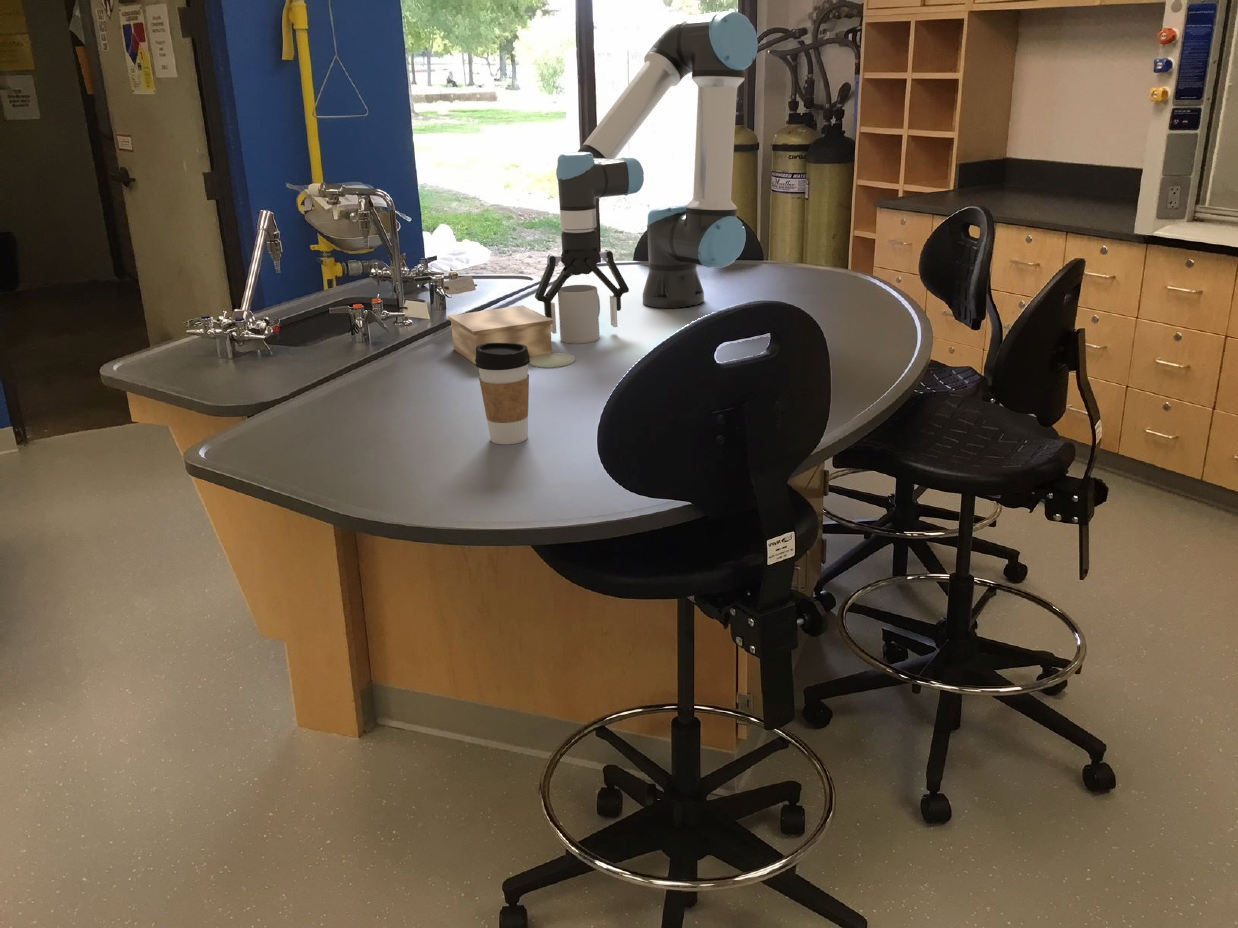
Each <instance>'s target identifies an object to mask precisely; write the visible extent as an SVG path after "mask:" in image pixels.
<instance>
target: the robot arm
mask: <svg viewBox="0 0 1238 928" xmlns="http://www.w3.org/2000/svg"><path fill="white" fill-rule="evenodd" d="M758 42H759V41H758V35H757V31H756V29H755V26H754V25H753V23H751V22H750V19H749V18H748V17H747V16H746V15H744V14H742V13H741V12H738V11H727V10H723V11H716V12H710V13H702V14H690V15H686V16H684V17H682V18H681V19H679V20H678V21H676V22H675V23H673V24H672V25H671V26H670V27H669V28H668V29H666V31H665V32H664V33H663V34H661V36H660V37H659V38H658V39H657V40H656V42H655V43H654V44H653V45H652V46H651V47H650V49H649V51H647V53H646V54H645V56H644V58H643V61H644V64H643V66H642V67H641V68H640V70H639V71H638V72H637V73H636V75H635V76H634V78H633V79H632V80H631V81H630V82H629V84H628V85H627V87H626V88H625V89H624V90H623V92H621V94H620V95H619V97H617V100H616V101H615V102H614V103H613V105H612V106H611V108H610V109H609V110H608V111H607V112H606V114H605V115H604V117H603V118H602V119H600V121H599V123H598V124H597V125H596V127H595V129H594V130H593V131H592V132H591V133H590V135H589V136H588V137H587V139H586V140H585V141H584V143H583V144H582V145H581V146H580V148H579V149H578V150H577V151H576V152H563V153H562V154H560V155H559V156H558V157H557V165H556V172H555V175H556V176H555V177H556V179H557V187H558V200H559V201H558V202H559V216H560V219H559V220H560V228H561V230H563V231H562V232H561V233H560V235H561V237H560V238H561V255H553V254H551V253H550V254H548V256H547V259H546V260H547V261H546V262H547V263H546V267H545V270H544V272H543V274H542V277H541V280H540V282H539V284H538V287H537V289H536V291H535V294H534V298H535V300H537V301H538V302H542V303H543V309H544V310H543V311H544V316H546V317H548V318H550V319H552V320H553V324H550V327H551V334H557V321H556V320H557V319H556V304H555V302H554V301H553V299H554V298H555V297H556V295H558V291H559V290H560V288H561V287H564V286H563V285H564V284H565V283H566V282H567V280H568V279H569V278H570V277H571V276H572V275H573V276H581V275H590V274H591V273H593V274H594V275H595V276H596V277H597V278H598V279H599V280H600V281H601V282H602V283H603V284H604V285H605V286H606V288H607V289H609V291H610V292H611V293H612V294H609V310H610V311H609V312H610V326H612V327H613V328H618V312H620V311H621V309H622V298H621V297H622V296H623V295H624V294H627V293H629V292H630V289H629V287H628V285H627V283H626V281H625V279H624V277H623V275H622V273H621V272H620V270H619V268H618V267H617V264H616V262H615V260H614V254H613V251H611V250H609V249H604V251H599V249H598V247H599V246H598V231H597V230H596V229H595V228H597V225H598V224H597V211H596V209H597V208H596V207H597V204H596V199H601V198H607V197H609V198H610V197H620V196H628V195H632V194H636V193H638V192H640V191H641V189H642V187H643V185H644V180H645V178H644V175H645V173H644V168H643V166H642V164H641V162H640V161H639V160H638V159H637V158H634V157H621V158H617V156H618V155H620V153H621V152H622V151H623V149H624V147H626V145H627V144H628V142H629V141H630V140H631V139H632V137H633V136H634V135H635V133H636V132H637V131H638V129H639V128H640V127H641V125H642V124H643V123H644V122H645V121H646V119H647V117H649V115H650V114H651V113H652V112H653V110H654V109H655V107H656V106H657V105H658V103H659V102H660V100H661V99H662V98H663V97H664V95H665V94H666V93H667V92H668V90H669V89H670V88H671V87H675V86H678V85H679V83H680V82H681V81H682V80H683V78H685V77H686V76H687V75H689V74H691V80H692V81H693V82H694V83H695V85H697V106H696V107H697V108H696V128H695V129H696V130H695V132H696V133H695V150H694V151H695V154H694V173H693V174H694V175H693V192H692V194H693V195H692V196H693V198H692V199H691V200H690V202H689V203H687V204H686V205H685V204H684V205H676V206H675V205H674V206H668V207H659V208H653V209H651V210H650V211H649V212H648V214H647V225H646V229H647V250H648V251H647V253H648V254H647V255H648V275H647V278H646V280H645V284H644V288H643V292H642V304H643V305H645V306H648V307H651V308H657V309H659V308H660V309H679V307H682V308H687V307H686V306H690V307H692V306H691V305H695V306H698V304H699V305H700V303H701V302H703V301H704V302H705V291H704V287H703V286H702V283H701V279H700V277H699V273H698V270H697V265H700V266H703V267H706V268H719V269H720V268H725V267H729V266H730V265H732V264H733V263H734V262H736V260H737V259H738V258H739V257H740V256H741V254H742V252H743V250H744V248H745V244H746V241H747V240H746V237H747V234H746V228H745V226H744V225H743V222H742V221H741V220H740V219H739V218H738V216H737V215H738V214H737V212H738V210H737V209H738V207H737V206H736V205H735V203H734V202H733V201H732V185H733V168H734V166H733V165H734V151H735V148H734V147H735V131H736V115H737V114H736V113H737V99H738V98H737V97H738V96H737V95H738V88H739V86H740V85H741V84H742V83H743V82H744V81H745V78H746V69H748V67H750V66H751V65H752V64H753V61H754V60H755V59H756V57H757V52H758V48H759V43H758ZM601 259H602V261H603V262H605V263H606V264H607V267H608V269H609V270H610V273H611V274H612V276H613V278H614V279H615V282H616V283H617V285H618V288H617V286H616V285H615V284H614V283H613V282H612V281H611V280H610V279H609V278H608V277H607V276H606V275H605V273H603V271H602V270H601V269H600V268H599V267H598V266H597V265H598V263H599V262H600V260H601ZM560 262H561V264H563V266H564V267H563V268H562V270H561V271H560V273H559V275H558V276H557V278H556V279H555V281H554V282H553V283H552V285H551V286H550V287H549V289H548V286H549V285H550V282H551V279H552V276H553V275H554V272H555V268H556V267H557V266H558V265H559V263H560ZM704 302H703V303H704ZM701 304H702V303H701Z"/></svg>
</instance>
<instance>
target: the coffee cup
mask: <svg viewBox="0 0 1238 928" xmlns="http://www.w3.org/2000/svg"><path fill="white" fill-rule="evenodd" d="M530 359H531V358H530V355H529V353H528V349H527V346H525V345H523V344H517V343H484V344H481V345H478V346H477V347H476V359H475V362H476V364H475V366H476V368H478V372H479V378H478V382H479V386H480V390H481V395H482V400H483V407H484V410H485V411H484V412H485V416H486V420H487V427H488V431H489V432H488V433H489V438H490V441H491V442H492V443H493V444H497V445H505V446H506V445H515V444H516V445H517V444H520V443H522V442H525V441H526V440H527V439H528V437H529V399H530V398H529V395H530V394H529V393H530V391H529V390H530V375H529V371H528V370H529V365H530Z"/></svg>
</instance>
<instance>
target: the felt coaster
mask: <svg viewBox="0 0 1238 928" xmlns="http://www.w3.org/2000/svg"><path fill="white" fill-rule="evenodd" d="M573 363H575V356H574V355H572V354H568V353H561V352H560V353H559V352H552V353H550V354H542V355H538V356H535V357H532V358H530V363H529V365H531V366H533V367H534V368H535V367H537V368H541V369H542V368H543V369H544V368H545V369H548V368H549V369H551V368H552V369H553V368H561V367H562V368H563V367H566V366H569V365H572V364H573Z"/></svg>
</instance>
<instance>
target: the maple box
mask: <svg viewBox="0 0 1238 928" xmlns="http://www.w3.org/2000/svg"><path fill="white" fill-rule="evenodd" d="M447 319H448V320H449V321H450V324H451V335H452V343H453V344H452V347H453V350H454V351H455V352H457V353H459V354H460V355H461V356H463V357H465V358H466V360H469V362H471V363H472V364H474V365H476V362H475V359H476V347H477V346H478V345H481V344H484V343H517V344H523V345H525V346H527V349H528V353H529V355H530V359H531V358H532V357H535V356H538V355H542V354H550V353H553V345H552V332H551V327H550V324H553V320H552V319H550V318H548V317H546V316H545V314H542V313H539V312H537V311H536V310H533V309H531V308H530V307H527V306H525V305H515V306H509V307H508V306H507V307H501V308H493V309H486V310H480V311H478V310H477V311H473V312H465V313H458V314H450V315H447Z"/></svg>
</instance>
